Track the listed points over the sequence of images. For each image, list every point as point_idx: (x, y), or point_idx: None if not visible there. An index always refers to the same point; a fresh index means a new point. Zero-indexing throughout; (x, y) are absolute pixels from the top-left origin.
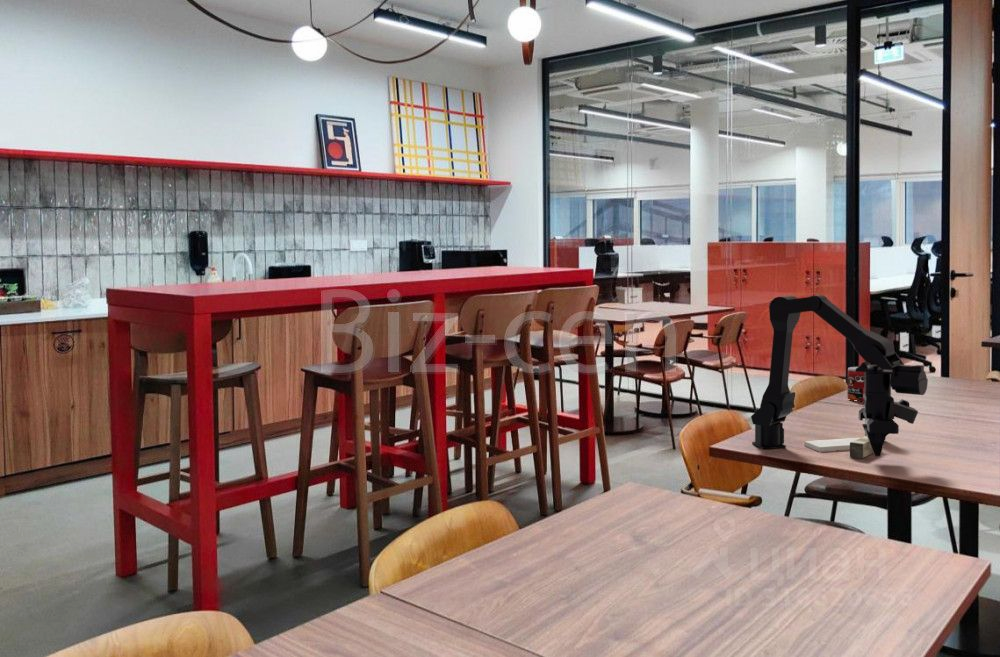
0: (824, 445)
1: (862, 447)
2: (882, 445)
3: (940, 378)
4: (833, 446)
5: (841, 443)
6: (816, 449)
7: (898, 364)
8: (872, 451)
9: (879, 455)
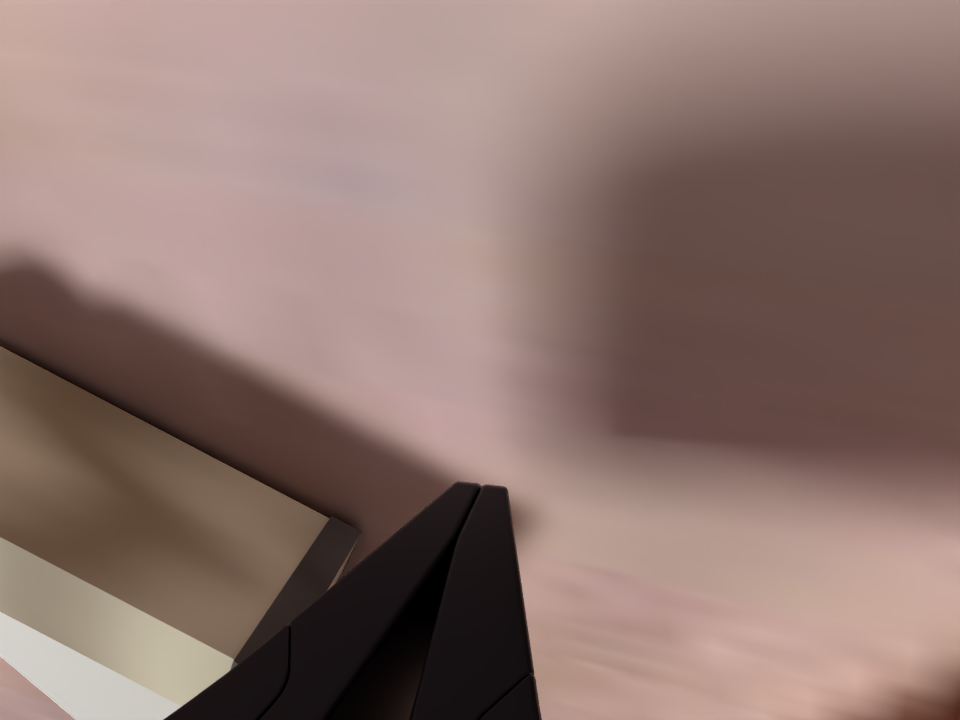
0: (154, 699)
1: (279, 627)
2: (525, 640)
3: None
4: None
5: None
6: None
7: None
8: (71, 401)
9: (505, 497)
